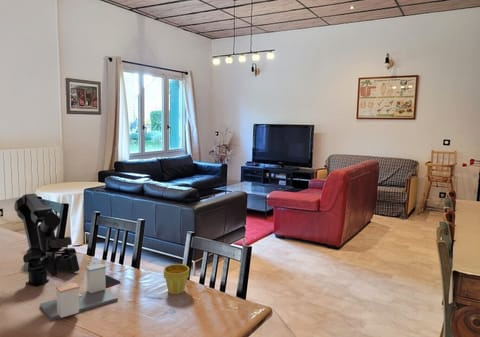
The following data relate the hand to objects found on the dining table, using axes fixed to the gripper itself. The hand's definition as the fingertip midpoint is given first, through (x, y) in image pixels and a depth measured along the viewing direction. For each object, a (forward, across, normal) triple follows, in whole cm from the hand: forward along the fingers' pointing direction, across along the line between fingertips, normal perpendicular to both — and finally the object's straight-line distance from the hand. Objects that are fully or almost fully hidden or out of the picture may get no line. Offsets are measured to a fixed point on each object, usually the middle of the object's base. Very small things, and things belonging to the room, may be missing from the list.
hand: (55, 276), depth 141 cm
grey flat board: (+12, +7, -2) cm, 14 cm away
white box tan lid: (+15, -2, -5) cm, 16 cm away
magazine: (-13, +23, +31) cm, 40 cm away
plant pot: (+20, +34, -24) cm, 47 cm away
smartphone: (+4, +26, +4) cm, 27 cm away
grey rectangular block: (+8, +16, -2) cm, 18 cm away
